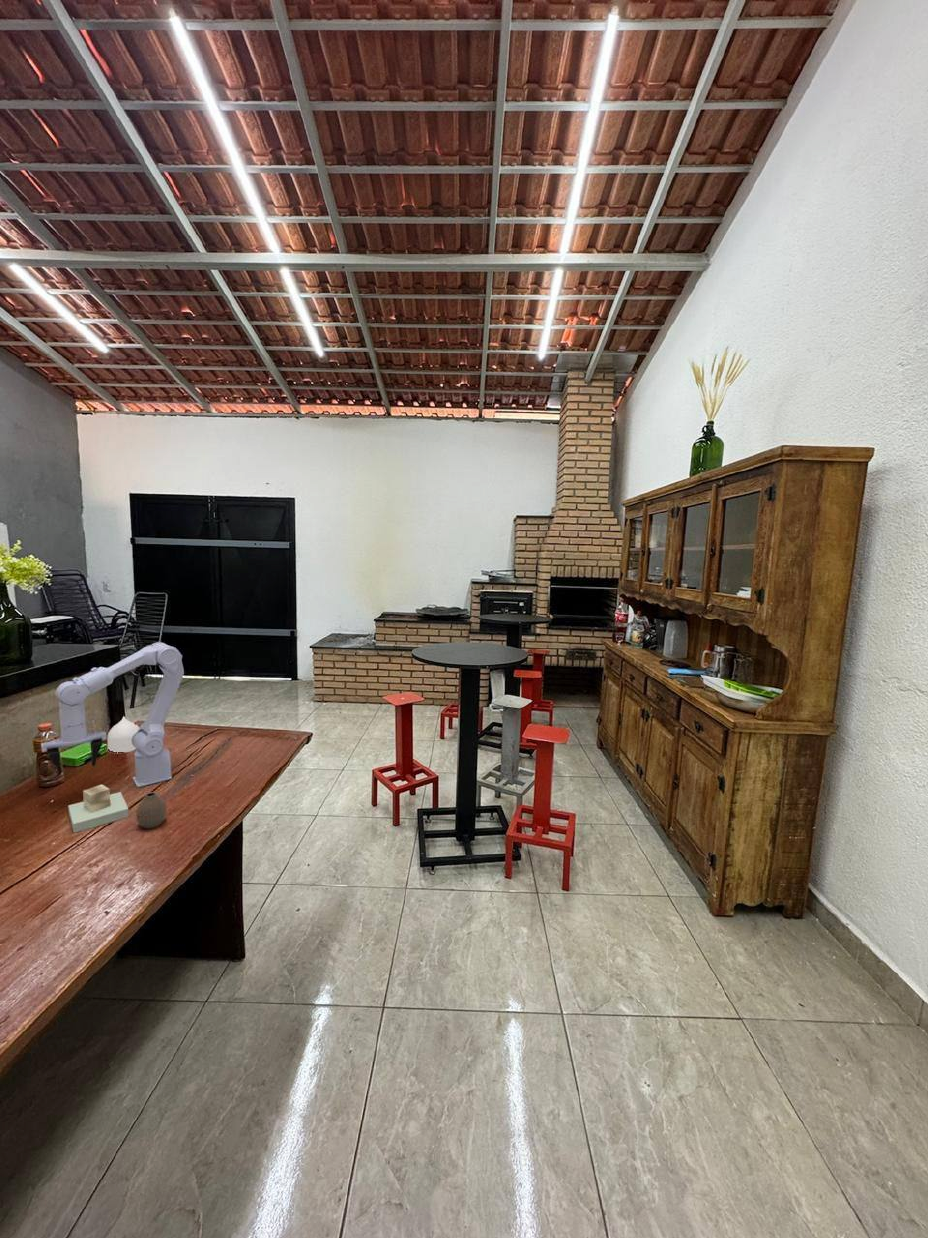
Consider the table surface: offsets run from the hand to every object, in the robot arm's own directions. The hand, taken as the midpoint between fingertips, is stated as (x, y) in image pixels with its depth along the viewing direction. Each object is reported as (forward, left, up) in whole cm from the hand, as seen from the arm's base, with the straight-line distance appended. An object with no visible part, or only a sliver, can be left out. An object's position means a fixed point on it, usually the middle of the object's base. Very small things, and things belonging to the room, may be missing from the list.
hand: (76, 768), depth 141 cm
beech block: (-3, +13, -7) cm, 15 cm away
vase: (-13, +27, -10) cm, 32 cm away
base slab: (-3, +13, -10) cm, 17 cm away
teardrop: (-17, -36, -10) cm, 41 cm away
